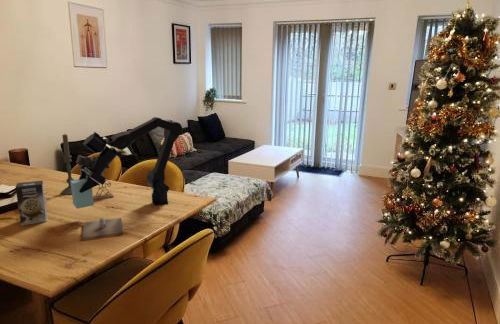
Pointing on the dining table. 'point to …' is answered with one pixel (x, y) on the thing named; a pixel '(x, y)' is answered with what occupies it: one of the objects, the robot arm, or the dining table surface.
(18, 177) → the dining table surface
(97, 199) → the brown scrollwork stand
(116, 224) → the post board
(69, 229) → the dining table surface
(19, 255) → the dining table surface
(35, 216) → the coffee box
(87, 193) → the light blue rectangular block
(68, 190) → the candlestick holder
